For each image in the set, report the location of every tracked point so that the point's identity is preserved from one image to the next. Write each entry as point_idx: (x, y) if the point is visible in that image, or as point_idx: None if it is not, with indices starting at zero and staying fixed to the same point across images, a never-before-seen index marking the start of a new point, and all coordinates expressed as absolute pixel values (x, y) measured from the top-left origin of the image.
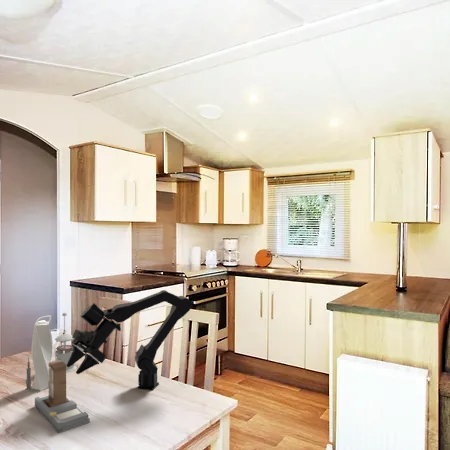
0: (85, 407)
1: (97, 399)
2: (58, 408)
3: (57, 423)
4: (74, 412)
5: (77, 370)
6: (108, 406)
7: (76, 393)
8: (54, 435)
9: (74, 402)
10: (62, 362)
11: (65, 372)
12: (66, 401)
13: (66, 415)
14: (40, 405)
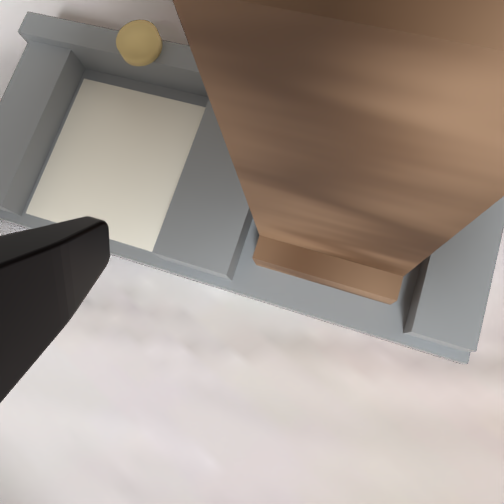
0: (160, 337)
1: (184, 492)
2: (211, 135)
3: (39, 17)
4: (122, 208)
5: (61, 227)
6: (19, 439)
7: (451, 490)
8: None
9: (187, 259)
10: (364, 1)
11: (214, 91)
12: (259, 237)
13: (138, 156)
14: None
